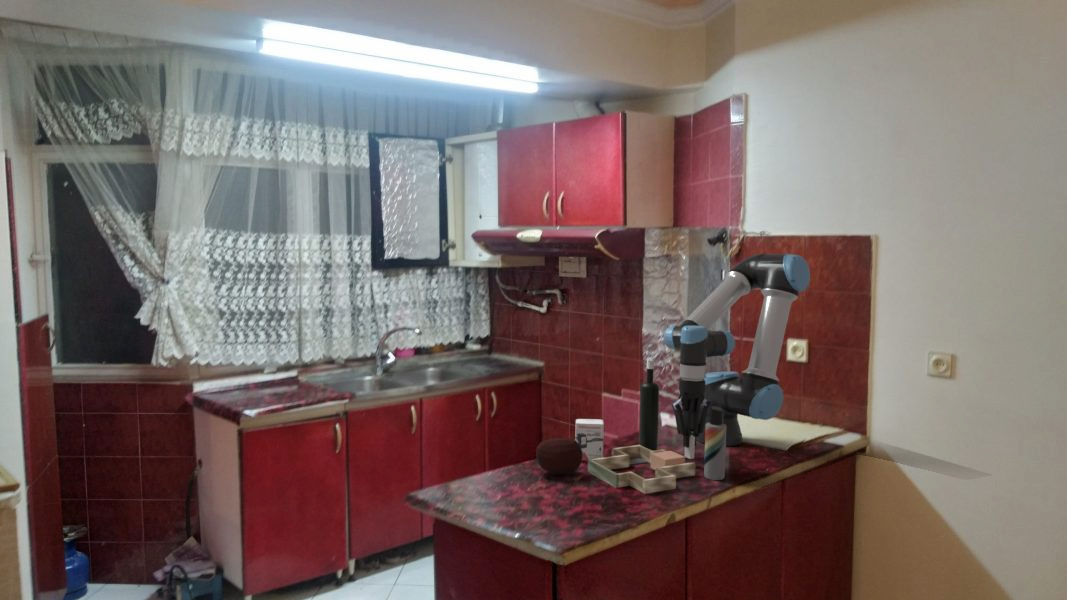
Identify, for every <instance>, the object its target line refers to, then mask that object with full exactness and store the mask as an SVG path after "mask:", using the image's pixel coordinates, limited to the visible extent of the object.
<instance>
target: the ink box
mask: <svg viewBox="0 0 1067 600" xmlns="http://www.w3.org/2000/svg"><path fill="white" fill-rule="evenodd" d="M604 425H605V424H604V420H603V419H596V418H594V419H593V418H576V419H575V428H574V429H575V431H574V432H575V433H574V434H575V435H574V440H576V441H577V443H578V444H579V445H580V447H581V450H582V457H583V458H582V462H588V460H590V459H597V458H604V433H605V432H604V429H605V427H604Z"/></svg>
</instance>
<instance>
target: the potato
mask: <svg viewBox="0 0 1067 600" xmlns="http://www.w3.org/2000/svg"><path fill="white" fill-rule="evenodd" d="M535 456H536V457H535V458H536V461H537V463H538V465H539V466H540V467H541V468H542V470H544V471H546V472H547V473H549V474H552V475H558V476H566V475H570V474H572V473H574V472H576V471H577V470H578V469H579V468H580V466H581V464H582V462H583V461H582V458H583V457H582V450H581V447H580V445H579V444H578V443H577V441H576V440H575V438H570V437H556V438H549V439H546V440H544V441H541V442H540V443H539V444H538V445H537V446H536V451H535Z"/></svg>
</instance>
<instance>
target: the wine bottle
mask: <svg viewBox="0 0 1067 600" xmlns="http://www.w3.org/2000/svg"><path fill="white" fill-rule="evenodd" d="M654 369H655V359H654V357H646V381H645V382H643V383H641V385H640V389H639V392H640V395H639V425H638V426H639V428H638V431H639V432H638V433H639V434H638V445H641V446H643V447H645V448H648V449H650V450H652V451H655V450H658V441H659V440H658V439H659V436H658V435H659V434H658V433H659V403H660V402H659V401H660V400H659V399H660V398H659V397H660V387H659V384H657V383H656V382H654Z"/></svg>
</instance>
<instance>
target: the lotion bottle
mask: <svg viewBox="0 0 1067 600" xmlns="http://www.w3.org/2000/svg"><path fill="white" fill-rule="evenodd" d="M723 411H724V410H723V408H720V407H715V406H712V407H711V409H710V411H709V423H706V428H705V443H704V462H703V463H704V464H703V475H704V478H706V479H708V480H713V481H720V480H724V479H725V474H726V453H727V451H726V450H727V446H726V425H725V424H723Z"/></svg>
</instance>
